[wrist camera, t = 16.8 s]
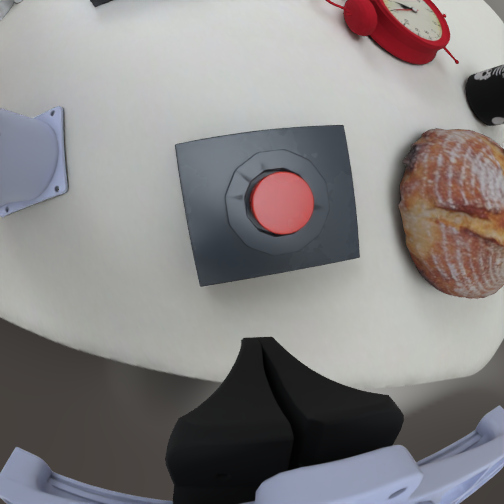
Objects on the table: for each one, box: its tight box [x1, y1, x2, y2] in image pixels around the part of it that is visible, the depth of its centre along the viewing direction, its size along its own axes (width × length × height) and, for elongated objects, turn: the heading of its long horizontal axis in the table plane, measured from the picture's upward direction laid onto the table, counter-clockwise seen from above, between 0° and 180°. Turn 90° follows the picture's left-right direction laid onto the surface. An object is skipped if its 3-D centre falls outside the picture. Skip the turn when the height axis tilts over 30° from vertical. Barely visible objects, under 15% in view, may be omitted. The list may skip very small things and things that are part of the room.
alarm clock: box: [326, 0, 459, 64], centre depth 15 cm, size 10×6×15 cm
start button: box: [250, 171, 314, 235], centre depth 16 cm, size 4×4×2 cm
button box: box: [175, 125, 360, 287], centre depth 19 cm, size 12×10×4 cm
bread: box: [398, 128, 504, 299], centre depth 18 cm, size 16×20×10 cm
